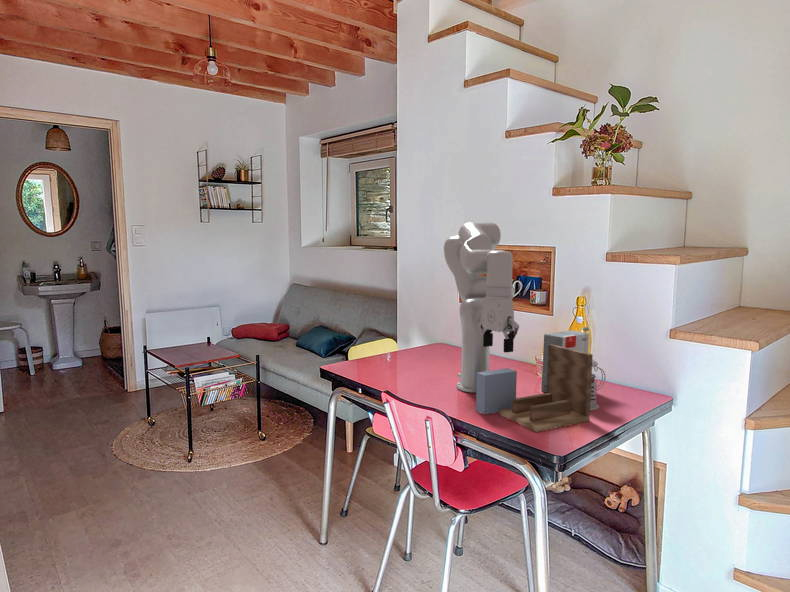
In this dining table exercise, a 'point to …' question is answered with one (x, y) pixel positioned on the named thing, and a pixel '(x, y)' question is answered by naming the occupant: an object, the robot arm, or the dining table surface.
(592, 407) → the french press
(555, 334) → the hard drive box
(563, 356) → the book rack
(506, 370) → the book
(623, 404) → the dining table surface
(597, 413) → the dining table surface
